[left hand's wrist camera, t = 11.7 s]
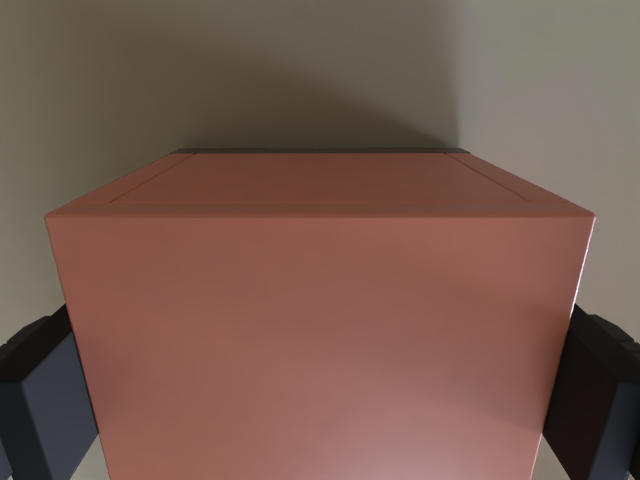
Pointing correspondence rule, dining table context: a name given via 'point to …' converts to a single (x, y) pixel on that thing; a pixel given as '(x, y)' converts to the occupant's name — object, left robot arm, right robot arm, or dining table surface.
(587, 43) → the dining table surface
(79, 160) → the dining table surface
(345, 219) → the salmon pink box
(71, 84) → the dining table surface
